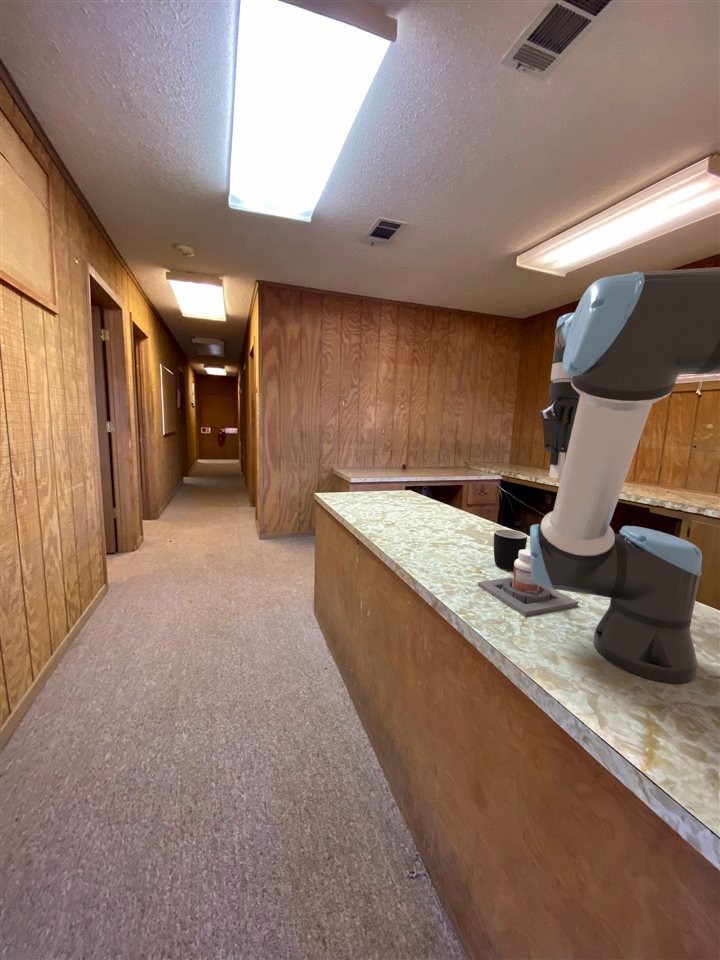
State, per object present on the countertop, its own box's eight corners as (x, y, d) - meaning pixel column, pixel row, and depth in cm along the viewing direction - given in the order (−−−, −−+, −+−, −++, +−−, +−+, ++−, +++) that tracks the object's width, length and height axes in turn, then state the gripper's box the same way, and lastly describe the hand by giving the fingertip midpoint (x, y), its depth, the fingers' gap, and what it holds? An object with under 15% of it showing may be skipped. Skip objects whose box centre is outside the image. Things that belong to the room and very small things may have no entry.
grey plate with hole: (577, 605, 88) (578, 597, 88) (524, 616, 83) (525, 606, 82) (525, 578, 103) (526, 571, 103) (477, 585, 97) (478, 577, 97)
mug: (529, 573, 107) (533, 538, 106) (497, 572, 107) (501, 537, 105) (512, 558, 119) (515, 526, 117) (483, 556, 119) (486, 525, 117)
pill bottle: (518, 587, 97) (523, 546, 95) (543, 596, 92) (548, 553, 91) (506, 594, 93) (510, 551, 91) (530, 604, 88) (535, 558, 87)
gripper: (573, 385, 98) (562, 475, 102) (534, 381, 93) (524, 476, 97) (600, 383, 91) (587, 479, 95) (560, 378, 86) (548, 480, 90)
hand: (555, 477), depth 96 cm, fingers closed
